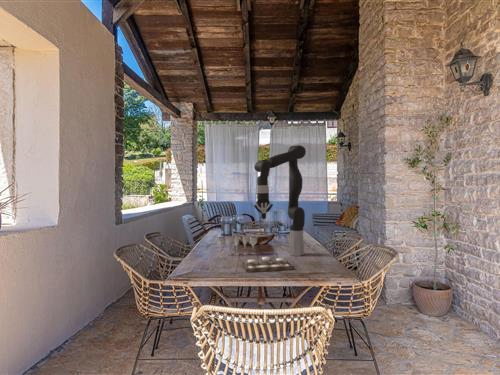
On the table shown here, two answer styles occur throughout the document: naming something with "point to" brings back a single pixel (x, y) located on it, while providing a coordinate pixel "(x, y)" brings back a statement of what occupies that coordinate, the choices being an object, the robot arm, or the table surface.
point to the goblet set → (236, 238)
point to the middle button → (265, 258)
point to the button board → (266, 265)
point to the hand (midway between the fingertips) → (263, 218)
